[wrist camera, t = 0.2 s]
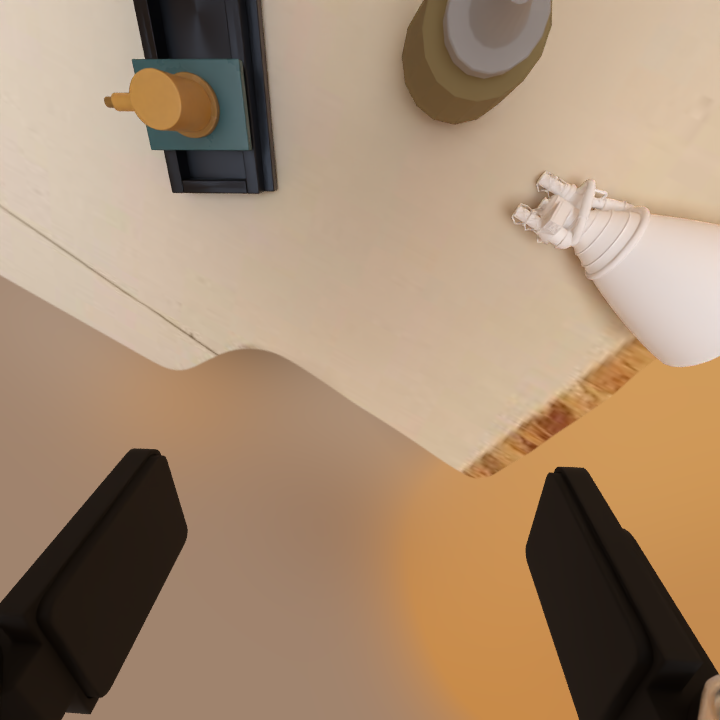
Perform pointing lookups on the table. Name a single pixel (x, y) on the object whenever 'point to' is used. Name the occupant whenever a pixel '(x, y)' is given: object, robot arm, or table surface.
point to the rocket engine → (640, 266)
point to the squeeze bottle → (472, 53)
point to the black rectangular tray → (216, 41)
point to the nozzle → (189, 103)
